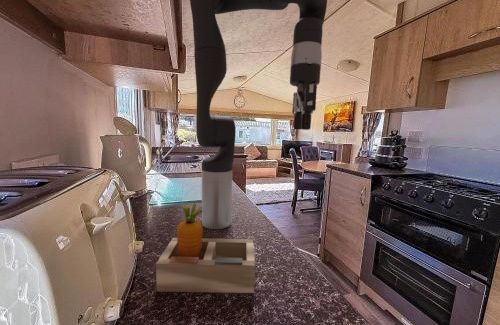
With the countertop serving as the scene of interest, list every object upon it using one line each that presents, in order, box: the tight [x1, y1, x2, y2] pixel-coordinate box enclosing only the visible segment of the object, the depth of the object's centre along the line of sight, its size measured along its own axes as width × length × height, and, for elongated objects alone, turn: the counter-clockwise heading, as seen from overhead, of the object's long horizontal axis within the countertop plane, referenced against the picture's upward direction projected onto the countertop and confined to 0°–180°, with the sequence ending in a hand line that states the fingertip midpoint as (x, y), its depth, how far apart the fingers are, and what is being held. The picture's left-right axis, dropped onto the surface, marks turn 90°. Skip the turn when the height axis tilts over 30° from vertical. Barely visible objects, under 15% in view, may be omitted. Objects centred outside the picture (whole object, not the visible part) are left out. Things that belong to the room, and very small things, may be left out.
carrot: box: [176, 202, 204, 257], centre depth 45 cm, size 5×5×15 cm
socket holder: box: [155, 237, 256, 294], centre depth 45 cm, size 10×18×6 cm, turn 91°
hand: (301, 129), depth 60 cm, fingers open, 8 cm apart
